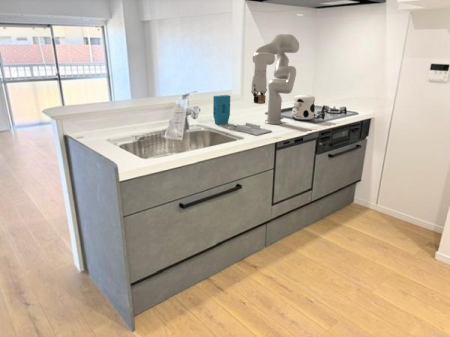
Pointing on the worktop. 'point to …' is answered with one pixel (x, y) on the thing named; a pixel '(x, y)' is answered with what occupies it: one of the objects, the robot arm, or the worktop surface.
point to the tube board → (250, 129)
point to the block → (221, 109)
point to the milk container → (303, 107)
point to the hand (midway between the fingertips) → (258, 102)
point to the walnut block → (261, 99)
